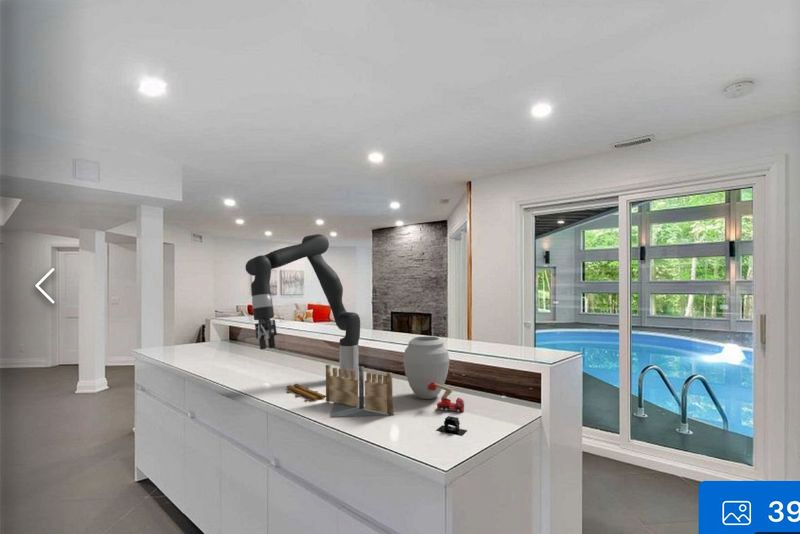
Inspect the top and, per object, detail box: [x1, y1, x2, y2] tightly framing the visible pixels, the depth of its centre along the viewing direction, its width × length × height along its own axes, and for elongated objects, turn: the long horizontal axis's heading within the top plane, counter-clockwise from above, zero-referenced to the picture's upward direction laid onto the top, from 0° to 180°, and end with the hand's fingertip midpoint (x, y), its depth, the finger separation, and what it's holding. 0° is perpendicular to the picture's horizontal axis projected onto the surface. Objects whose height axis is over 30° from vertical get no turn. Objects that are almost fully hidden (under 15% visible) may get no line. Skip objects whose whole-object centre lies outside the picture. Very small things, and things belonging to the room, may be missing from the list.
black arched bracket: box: [435, 415, 468, 437], centre depth 129 cm, size 12×7×5 cm, turn 60°
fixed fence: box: [358, 365, 394, 417], centre depth 148 cm, size 15×2×16 cm, turn 59°
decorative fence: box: [286, 383, 326, 402], centre depth 172 cm, size 25×2×10 cm
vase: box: [402, 336, 450, 400], centre depth 166 cm, size 20×20×24 cm
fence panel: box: [325, 364, 359, 407], centre depth 156 cm, size 16×2×14 cm, turn 59°
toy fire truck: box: [428, 382, 465, 413], centre depth 149 cm, size 3×14×10 cm, turn 71°
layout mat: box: [330, 395, 395, 418], centre depth 154 cm, size 24×23×1 cm
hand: (267, 348), depth 152 cm, fingers open, 8 cm apart
